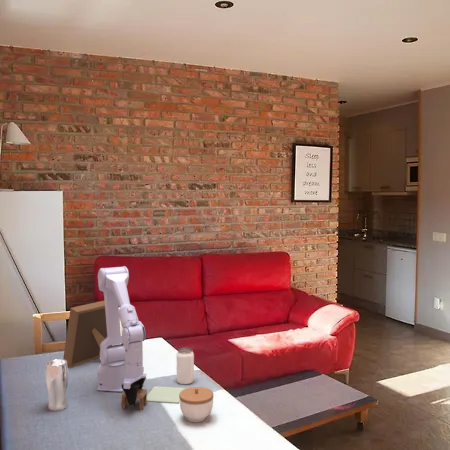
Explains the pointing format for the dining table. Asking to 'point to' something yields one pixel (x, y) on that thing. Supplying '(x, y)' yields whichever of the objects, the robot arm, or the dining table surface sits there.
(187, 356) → the can
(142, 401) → the stool
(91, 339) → the photo frame
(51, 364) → the beer glass
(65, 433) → the dining table surface
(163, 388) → the mat
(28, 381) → the dining table surface
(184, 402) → the lidded jar
